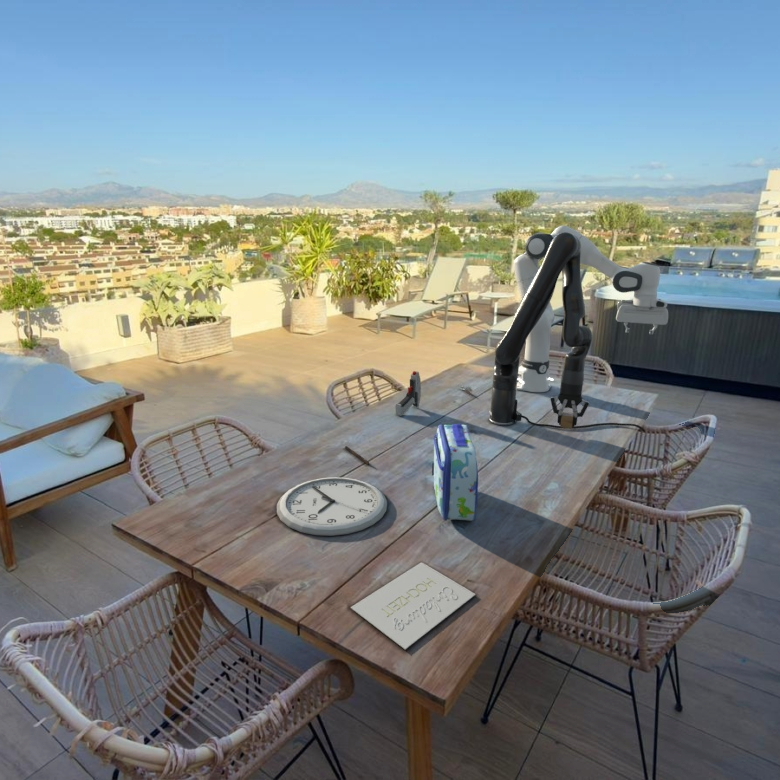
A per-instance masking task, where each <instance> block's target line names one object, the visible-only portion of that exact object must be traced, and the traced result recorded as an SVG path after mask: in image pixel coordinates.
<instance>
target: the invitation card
mask: <svg viewBox="0 0 780 780" xmlns="http://www.w3.org/2000/svg"><path fill="white" fill-rule="evenodd" d="M475 596H476V593H474V591H471V590H469V589H468V588H466V587H464V586H463V585H461V584H459V583H458V582H456V581H454V580H453V579H451V578H449V577H448V576H446V575H444V574H442V573H441V572H439V571H438V570H436V569H434V568H432V567H430V566H429V565H427V564H426V563H424V562H419V563H417V564H416V565H414V566H413V567H412V568H410V569H408V570H407V571H405V572H404V573H402V574H400V575H399V576H397V577H396V578H394V579H392V580H391V581H390V582H388V583H386V584H385V585H383V586H382V587H380V588H378V589H377V590H375V591H373V592H372V593H370V594H369V595H367V596H366V597H364V598H363V599H361V600H359V601H358V602H356V603H355V604H354V605H352V606H350V609H351V610H352V611H353V612H355V613H356V614H357V615H358V616H360V617H361V618H363V619H364V620H365V621H367V622H368V623H369V624H371V625H372V626H373V627H374V628H376V629H377V630H379V631H380V632H381V633H382V634H383V635H385V636H386V637H388V638H389V639H390V640H391V641H393V642H394V643H395V644H397V645H398V646H399V647H401V648H402V649H403V650H405V651H406V650H407V649H408V648H409V647H412V645H413V644H415V643H416V642H418V640H420V639H421V638H422V637H424V636H425V635H427V633H429V632H430V631H431V630H432V629H434V628H435V627H436V626H438V625H439V624H440V623H442V622H443V621H444V620H446V618H448V617H449V616H450V615H452V614H453V613H454V612H456V611H457V610H458V609H459V608H461V607H462V606H463V605H465V604H466V603H467V602H468V601H470V600H471V599H472V598H473V597H475Z"/></svg>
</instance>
